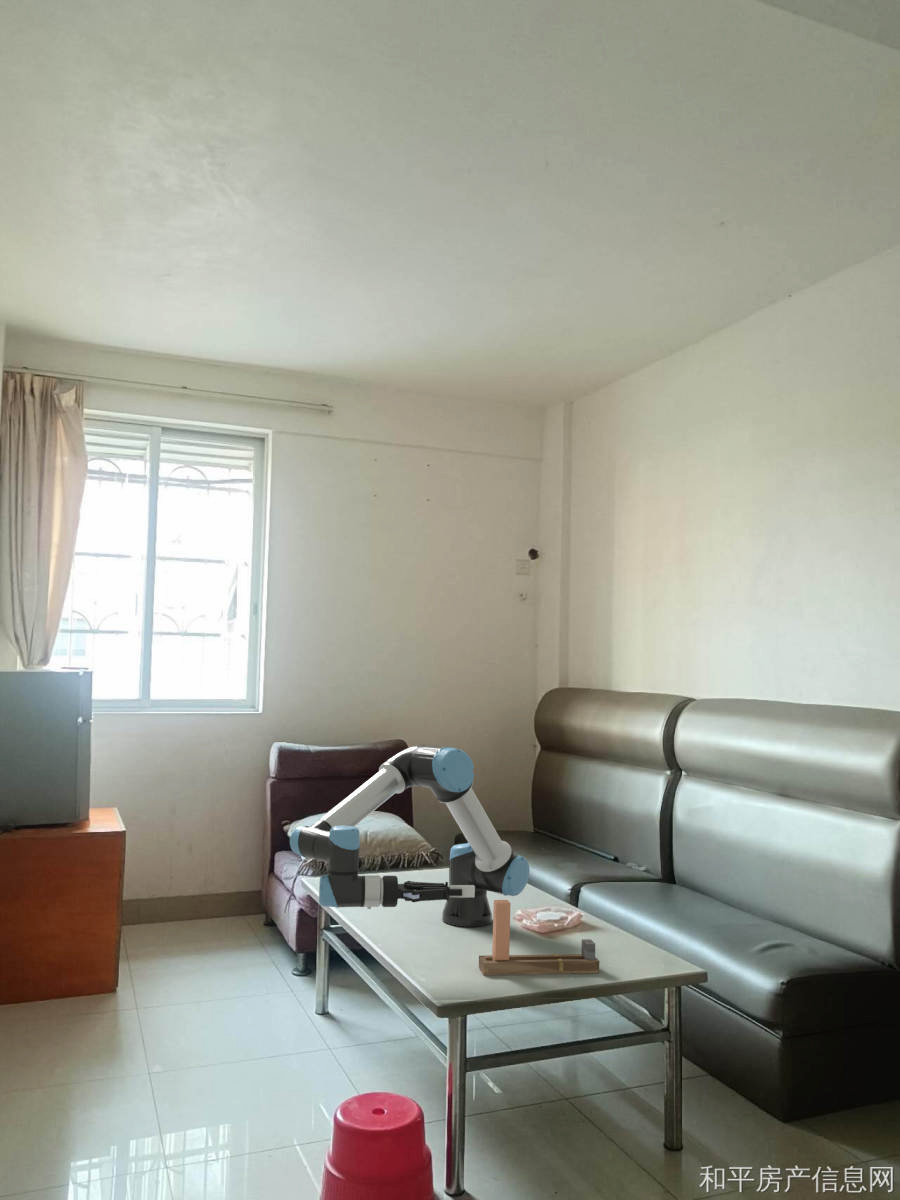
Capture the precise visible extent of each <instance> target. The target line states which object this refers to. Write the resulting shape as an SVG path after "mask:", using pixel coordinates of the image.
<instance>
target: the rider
mask: <svg viewBox="0 0 900 1200" xmlns="http://www.w3.org/2000/svg"><path fill="white" fill-rule="evenodd" d="M510 937H511V902H510V901H509V899H493V913H492V951H491V952H492V953H491V955H492V956H493V958H492V961H498V960H509V955H510V946H511V945H510V942H511V939H510Z"/></svg>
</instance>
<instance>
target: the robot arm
mask: <svg viewBox="0 0 900 1200" xmlns="http://www.w3.org/2000/svg"><path fill="white" fill-rule="evenodd" d="M474 770H475V767H474V762H473V760H472V759H471V757H470V756H469V754H468V753H467V752H465V751H464V750H462V749H460V748H456V747H451V746H435V745H427V744H415V745H413V746H410V747H407V748H405V749H403V750H401V751H400V752H397V753H396V754H395V755H393V756H391V757H390V758H389V759H386V761H384V762H383V763H382V764H381V765H380V766H379V768H378V772H377V773H375V774H374V775H372V777H370V778H369V779H368V780H366V781H365V782H364V783H362V785H360V786H359V787H358V788H356V789H355V790H354V791H353V792H351V793H350V794H349V795H348V796H347V797H345V798H343V799H342V800H341V801H340V802H339V803H337V805H335V806H334V807H332V808H331V809H330V810H328V811H327V813H325V814H324V815H322V816H321V817H320V818H319V819H318V820H316V821H315V822H314V823H312V824H311V825H309V826H308V825H300V826H297V827H296V828H294V830H292V833H291V835H290V838H289V845H290V849H291V851H292V852H293V853H294V854H296V855H299V857H303V858H307V859H308V858H309V859H312V860H315V861H316V860H317V861H321V862H325V863H327V864H328V865H327V874H324V875H321V876H320V877H319V888H318V904H319V905H320V906H321V907H325V908H326V907H327V908H329V907H330V908H336V909H337V908H338V909H339V908H359V907H360V908H367V910H371V909H372V908H379V907H380V906H381V907H383V908H395V907H397V906H398V900H404V902H411V903H417V902H425V901H426V902H430V901H443V900H445V904H444V906H443V907H444V908H443V910H442V913H441V914H442V916H441V917H442V919H441V921H442V922H443V923H445V922H446V923H445V924H447V923H448V925H452V926H455V925H456V926H457V927H463V926H464V927H466V928H476V927H483V926H488V925H490V924H491V923H493V913H492V910H491V907H490V903H489V898H488V896H487V893H488V892H492V893H496V894H499V895H503V896H505V897H506V896H510V897H515V896H518V895H520V894H521V893H522V892H524V890H525V888H526V886H527V884H528V881H529V876H530V864H529V861H528V860H527V858H526V857H524V856H522V855H517V854H516V853H515V852H514V850H513V848H512V846H511V845H510V844H509V843H508V842H507V841H505V840H502V839H501V837H500V836H499V834H498V832H497V830H496V828H495V827H494V825H493V823H492V821H491V820H490V818H489V816H488V815H487V813H486V811H485V809H484V807H483V805H482V804H481V802H480V800H479V799H478V797H477V795H476V793H475V792H474V789H473V788H472V787H473V784H474V777H475V772H474ZM412 787H420V788H421V787H422V788H428V789H430V790H431V792H432V794H433V795H434V797H435V799H436V800H437V801H438V802H439V803H441V804H445V805H446V807H447V808H448V810H449V812H450V813H451V815H452V818H453V819H454V820H455V823H456V824H457V825H458V827H459V829H460V830H461V833H462V834H463V836H464V838H465V840H466V841H467V842H466V843H458V844H454V845H453V846H452V847H451V848H450V851H449V859H448V860H449V862H448V863H449V864H448V865H449V869H448V872H449V873H448V876H449V877H448V881H445V883H443V882H427V881H426V882H424V881H423V882H422V881H410V880H407V881H404V883H399V881H398V876H397V875H383V876H382V877H381V876H380V875H378V874H377V875H376V874H374V875H370V874H369V875H360V874H359V861H360V848H361V841H360V830H359V828H358V827H356V826H357V825H359V824H360V823H361V822H362V821H363V820H365V819H366V818H367V817H368V816H370V815H371V814H372V813H373V812H374V811H376V809H378V808H379V807H380V806H381V805H383V804H384V803H386V801H387V800H389V799H390V798H391V797H392V796H394V795H395V794H401V793H403V792H404V791H406V790H407V789H409V788H412ZM487 891H488V892H487ZM456 926H455V927H456Z"/></svg>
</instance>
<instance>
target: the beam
mask: <svg viewBox="0 0 900 1200" xmlns="http://www.w3.org/2000/svg"><path fill="white" fill-rule="evenodd" d="M492 958H493V956H492V954H491V955H490V954H489V955H478V969H479V971H480V973H481V974H482V976H504V975H505V976H508V975H509V976H513V975H514V976H515V975H517V976H518V975H562V974H563V975H565V974H567V975H568V973H571V974H572V973H576V974H600V960H599V959H598V958H597V957H596V943H595V942H594V941H593V940H592V939H591V938H587V939H585V938H582V939H581V953H568V954H566V953H565V954H564V953H563V954H560V953H558V954H557V953H551V954H509V960H498V961H492Z"/></svg>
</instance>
